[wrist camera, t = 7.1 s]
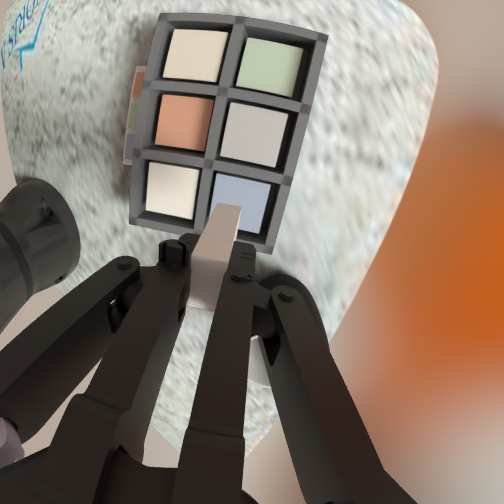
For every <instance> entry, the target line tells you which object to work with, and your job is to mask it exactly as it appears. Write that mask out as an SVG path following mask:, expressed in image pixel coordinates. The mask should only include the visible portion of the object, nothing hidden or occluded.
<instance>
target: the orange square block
mask: <svg viewBox="0 0 504 504" xmlns="http://www.w3.org/2000/svg"><path fill="white" fill-rule="evenodd" d="M214 105H215V100H211V99H203V98H195V97H186V96H176V95H163V97H162V103H161V108H160V114H159V121H158V127H157V134H156V141H155V144H157V145H165V146H172V147H179V148H186V149H192V150H199V151H206V146H207V141H208V135H209V130H210V125H211V120H212V115H213V110H214Z"/></svg>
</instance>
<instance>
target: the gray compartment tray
mask: <svg viewBox="0 0 504 504" xmlns="http://www.w3.org/2000/svg"><path fill="white" fill-rule="evenodd" d="M174 29H183V30H205V31H218V32H228V33H229V35H230V41H229V45H228V49H227V53H226V57H225V61H224V65H223V69H222V73H221V78H220V82H219V84H213V83H204V82H195V81H184V80H171V79H167V78H164V77H163V74H164V70H165V65H166V61H167V56H168V52H169V48H170V44H171V40H172V37H173V33H174ZM328 36H329V35H326V34H323V33H319V32H316V31H312V30H308V29H305V28H301V27H296V26H292V25H288V24H283V23H278V22H273V21H268V20H262V19H256V18H249V17H241V16H232V15H222V14H207V13H160V16H159V19H158V22H157V26H156V29H155V33H154V36H153V40H152V44H151V48H150V52H149V56H148V61H147V65H146V66H136V70H135V75H134V80H133V85H132V91H131V97H130V103H129V109H128V116H127V124H126V132H125V141H124V152H123V164H124V165H132V168H131V183H130V204H129V224H131V225H136V226H141V227H145V228H150V229H155V230H160V231H164V232H169V233H174V234H178V235H184V234H186V233H192V234H197V235H201V234H202V232H203V230H204V228H205V226H206V224H207V222H208V220H209V216H210V210H211V204H212V198H213V192H214V186H215V181H216V175H217V173H218V171H222V172H228V173H233V174H237V175H242V176H247V177H252V178H256V179H261V180H265V181H270V182H271V186H270V190H269V194H268V198H267V202H266V206H265V210H264V214H263V219H262V223H261V227H260V231H259V233H254V232H249V231H245V230H240V229H238V230H237V236H236V241H238V242H244V243H249V244H253V245H254V247H255V248H256V251H257V252H262V253H267V254H271V255H272V252H273V249H274V245H275V242H276V238H277V234H278V231H279V227H280V224H281V220H282V216H283V213H284V209H285V206H286V202H287V198H288V195H289V191H290V187H291V183H292V180H293V176H294V172H295V168H296V165H297V161H298V157H299V153H300V149H301V146H302V142H303V138H304V134H305V130H306V126H307V122H308V118H309V114H310V110H311V106H312V102H313V98H314V94H315V90H316V86H317V82H318V78H319V74H320V70H321V66H322V61H323V57H324V53H325V49H326V44H327V40H328ZM248 38H254V39H260V40H265V41H271V42H276V43H280V44H285V45H289V46H294V47H298V48H302V49H303V53H302V57H301V61H300V65H299V69H298V73H297V77H296V81H295V85H294V90H293V94H292V97H291V98H290V99H289V98H285V97H281V96H276V95H272V94H267V93H262V92H257V91H252V90H247V89H241V88H238V87H237V86H236V84H237V80H238V75H239V71H240V67H241V63H242V59H243V55H244V51H245V47H246V43H247V39H248ZM163 95H176V96H186V97H195V98H203V99H211V100H215V105H214V110H213V115H212V120H211V125H210V130H209V135H208V141H207V146H206V151H199V150H192V149H186V148H179V147H172V146H165V145H157V144H155V141H156V134H157V127H158V121H159V114H160V108H161V103H162V97H163ZM153 160H158V161H164V162H171V163H177V164H183V165H189V166H195V167H201V168H203V170H202V176H201V182H200V189H199V195H198V202H197V209H196V214H195V216H194V217H193V219H188V218H183V217H178V216H173V215H168V214H163V213H158V212H153V211H148V210H146V199H147V186H148V174H149V164H150V162H151V161H153Z"/></svg>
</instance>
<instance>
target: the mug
mask: <svg viewBox="0 0 504 504" xmlns="http://www.w3.org/2000/svg"><path fill="white" fill-rule="evenodd" d="M259 285H260V286H262V287H264V288H266V289H268V290H271V291H272V289H273V288H274V287H276V286H282V285H283V286H289V287H292V288H294V289H296V290H297V291H299V292H300V294H301V295H302V296H303V298H304V300H305V302H306V304H307V306H308V308H309V310H310V312H311V314H312V316H313V318H314V320H315V322H316V325H317V327H318V329H319V331H320V333H321V335H322V337H323V339H324V341H325V343H326V345H327V347H328V349H329V344H328V339H327V335H326V332H325V328H324V325H323V322H322V319H321V316H320V313H319V310H318V308H317V306H316V303H315V301H314V299H313V297H312V295H311V294H310V292H309V290H308V289H307V288H306V287H305V286H304V285H303V284H302V283H301V282H300V281H298V280H297V279H295V278H292V277H289V276H283V275H279V276H272V277H269V278H266V279H264V280H263V281H261V282H260V283H259ZM329 351H330V349H329ZM247 381H249V382H250V383H252V384H255V385H257V386H261V387H265V388H271V385H270V382H269V378H268V374H267V371H266V367H265V364H264V360H263V356H262V353H261V349H260V345H259V342H258V336H257V335H255V334H252V333H251V343H250V355H249V367H248V380H247Z"/></svg>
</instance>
